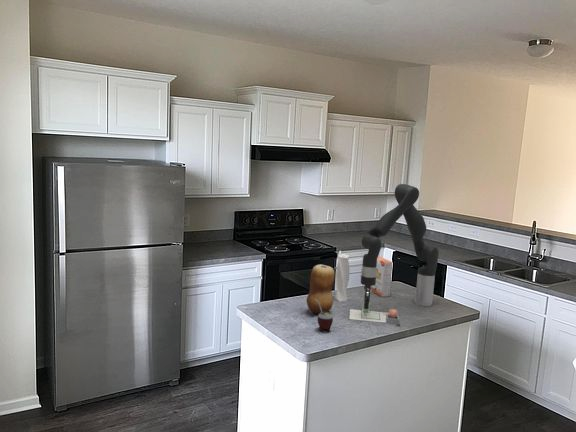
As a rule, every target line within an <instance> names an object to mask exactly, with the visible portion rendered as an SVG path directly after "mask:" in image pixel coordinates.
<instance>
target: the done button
mask: <svg viewBox="0 0 576 432" xmlns="http://www.w3.org/2000/svg"><path fill="white" fill-rule="evenodd" d="M388 312H389V317H393V318H396V317H397V313H398V309H395V308H389V310H388Z"/></svg>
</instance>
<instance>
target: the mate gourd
mask: <svg viewBox="0 0 576 432" xmlns="http://www.w3.org/2000/svg"><path fill="white" fill-rule="evenodd" d="M314 300H315V299H314ZM315 301H317V300H315ZM317 302H318V301H317ZM318 304H319V307H320V310H321V313H320V314H318V316H317V324H318V329H319V332H320V333H321V332H327V333H331V327H332V325H333V322H334V319H333V318H334V317H333V315H332V313H331V312H329V311H328V312H322V309H321V306H320V303H319V302H318Z"/></svg>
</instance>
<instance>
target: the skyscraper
mask: <svg viewBox="0 0 576 432" xmlns="http://www.w3.org/2000/svg"><path fill="white" fill-rule="evenodd" d="M337 254H338V255H337V259H338V260H337V264H336V270H335V286H336V293H335V296H334V299H335V300H336V301H338V302H348V297H347V289H348V285H349V281H350V273H351V272H350V271H351V269H350V262H349V259H350V257H351V255H350V254H349V255H347V254H345V253H344V254H343V253H342V250H339V252H338V253H337Z"/></svg>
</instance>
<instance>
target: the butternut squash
mask: <svg viewBox="0 0 576 432" xmlns="http://www.w3.org/2000/svg"><path fill="white" fill-rule="evenodd" d="M335 277H336V274H335V270H334V268H333V267H331V266H329V265H325V264H316V265H314V266H313V267H312V269H311V274H310V282H309V291H308V294H307V297H306V300H305V302H306V304H307V305H306V306H307V307H308V309H309V310H310V311H311V312H312V313H313V314H316V315H317V314H318V315H319V314H320V313H321V310H320V307H319V304H318V302H319V303H320V306H321V309H322V312H329V311H330V310H332V307H333V304H334V296H333V292H332V291H333V290H332V289H333V286H334V283H335ZM314 299H315V300H317V301H318V302H317V301H315V300H314Z"/></svg>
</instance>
